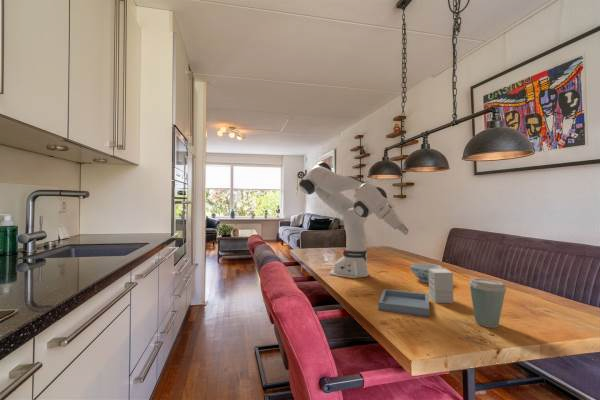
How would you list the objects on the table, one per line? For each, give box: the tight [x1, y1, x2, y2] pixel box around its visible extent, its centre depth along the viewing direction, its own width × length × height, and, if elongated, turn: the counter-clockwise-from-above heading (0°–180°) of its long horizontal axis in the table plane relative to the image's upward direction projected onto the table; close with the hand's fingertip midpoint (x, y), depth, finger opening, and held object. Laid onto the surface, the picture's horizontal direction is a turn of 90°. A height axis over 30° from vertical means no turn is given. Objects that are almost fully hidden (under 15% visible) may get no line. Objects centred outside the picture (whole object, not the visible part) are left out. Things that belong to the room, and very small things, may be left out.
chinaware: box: [410, 262, 443, 283], centre depth 148 cm, size 15×15×8 cm
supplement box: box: [428, 268, 454, 304], centre depth 119 cm, size 7×7×13 cm
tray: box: [378, 288, 431, 318], centre depth 113 cm, size 18×18×3 cm
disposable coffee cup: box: [468, 277, 507, 329], centre depth 95 cm, size 11×11×15 cm
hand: (407, 232), depth 124 cm, fingers open, 8 cm apart
